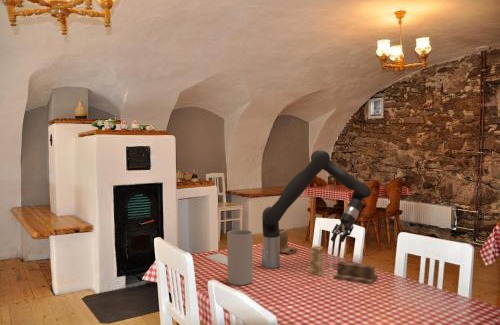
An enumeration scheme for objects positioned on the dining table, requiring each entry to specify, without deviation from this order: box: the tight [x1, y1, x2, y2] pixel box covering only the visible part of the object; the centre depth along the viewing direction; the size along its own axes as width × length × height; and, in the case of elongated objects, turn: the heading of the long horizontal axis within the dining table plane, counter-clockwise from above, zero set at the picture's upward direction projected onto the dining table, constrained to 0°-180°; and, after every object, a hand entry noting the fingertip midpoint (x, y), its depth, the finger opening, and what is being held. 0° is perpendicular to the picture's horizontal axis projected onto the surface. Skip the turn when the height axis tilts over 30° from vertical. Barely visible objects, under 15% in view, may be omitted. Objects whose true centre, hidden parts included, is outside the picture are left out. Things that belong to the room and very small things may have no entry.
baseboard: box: [205, 251, 228, 267], centre depth 262 cm, size 31×3×12 cm
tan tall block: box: [309, 245, 324, 276], centre depth 237 cm, size 5×5×14 cm
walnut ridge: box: [333, 261, 378, 285], centre depth 229 cm, size 19×12×7 cm, turn 60°
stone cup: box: [279, 228, 299, 255], centre depth 282 cm, size 15×12×15 cm
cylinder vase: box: [226, 229, 254, 286], centre depth 224 cm, size 12×12×25 cm
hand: (336, 241), depth 243 cm, fingers open, 8 cm apart
